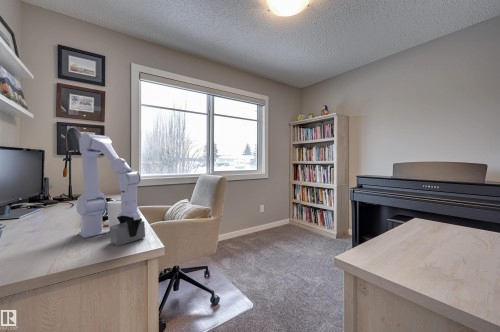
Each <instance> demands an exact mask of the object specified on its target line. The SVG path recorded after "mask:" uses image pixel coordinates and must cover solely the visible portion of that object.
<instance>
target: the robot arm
mask: <svg viewBox="0 0 500 332" xmlns="http://www.w3.org/2000/svg"><path fill="white" fill-rule="evenodd" d="M112 143H113V141H112V140H111V139H110V137H109V136H108V135H100V134H93V133H92V134H91V133H86V132H84V133H83V134H82V135H81V136H80V137H79V138H78V144H79V146H78V147H79V153H80V154H81V159H82V160H81V161H82V163H81V165H82V173H83V174H82V176H83V190H84V191H83V194H81V195H80V196H78V197H77V203H76V207H75V208H76V211H77V213H78V214H79V215H80V216H81V218H80V231H78V232H77V234H78V235H79V236H81V237H82V238H90V237H94V236H99V235H103V234H106V231H105V230H103V213H105V211H106V210H107V209H108V208H107V202H108V201H107V200H106V194H104V193H103V192H101V191H100V182H99V170H98V156H99V155H102V154H103V155H104V157H106V158H107V160H108V161H109V162H110V164H109V166H110V167H109V168H111V170H112V171H113V173H115V175H116V176H117V179H116V181H117V184H118V186H119V191H120V201H121V210H120V213H118V215H119V216H118V217H117V219H118V220H119V222H120V223H124V222H126V223H127V225H128V229H129V235H130V237H133V236H136V234H137V230H138V227H139V224H140V223H141V221H143V218H142V217H141V214H140V213H139V212H138V185H139V184H140V183H141V179H142V178H141V174H140V173H139V171H136V170H134V169H132V168H131V166H129V164H128V163H127V161H126V159H125V158H121V157H119V156H118V154H117V152H116V150H115V149H114V148H113V144H112Z"/></svg>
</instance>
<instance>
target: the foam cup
mask: <svg viewBox="0 0 500 332" xmlns="http://www.w3.org/2000/svg"><path fill="white" fill-rule="evenodd" d="M106 209H107V217H108V218H107V219H108V230H109V232H110V226H112V225H116V224H120V222H119V220H118V219H117V217H118V216H119V215H118V213H120V210H121V200H110V201H107V208H106Z"/></svg>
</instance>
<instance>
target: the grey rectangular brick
mask: <svg viewBox="0 0 500 332" xmlns="http://www.w3.org/2000/svg"><path fill="white" fill-rule="evenodd" d="M109 235H110V243H111V244H113V245H114V246H116V247H120V246H122V245H125V244H130V243H131V242H135V241H137V240H138V241H139V240H142V239H144V238H146V227H145V221H143V220H142V221H141V223H140V224H139V227H138V230H137V234H136V236H133V237H130V235H129V229H128V225H127V223H126V222H124V223H120V224H116V225H112V226H110V231H109Z"/></svg>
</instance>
